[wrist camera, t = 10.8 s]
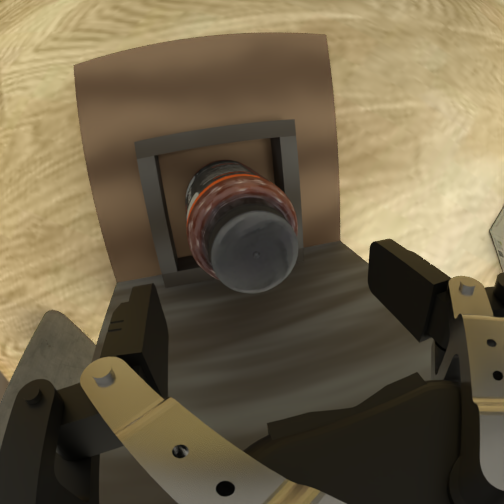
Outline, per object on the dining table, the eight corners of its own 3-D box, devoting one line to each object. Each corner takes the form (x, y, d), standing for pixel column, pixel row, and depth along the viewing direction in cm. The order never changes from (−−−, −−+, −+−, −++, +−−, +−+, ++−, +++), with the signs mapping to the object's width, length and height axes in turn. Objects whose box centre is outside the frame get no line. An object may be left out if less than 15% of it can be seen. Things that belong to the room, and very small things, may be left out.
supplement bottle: (169, 194, 23) (156, 252, 12) (228, 142, 22) (267, 155, 12) (220, 247, 25) (246, 332, 15) (276, 200, 24) (341, 255, 14)
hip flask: (38, 317, 25) (-35, 487, 7) (63, 302, 25) (-12, 491, 7) (128, 410, 32) (126, 561, 14) (154, 402, 32) (162, 561, 14)
